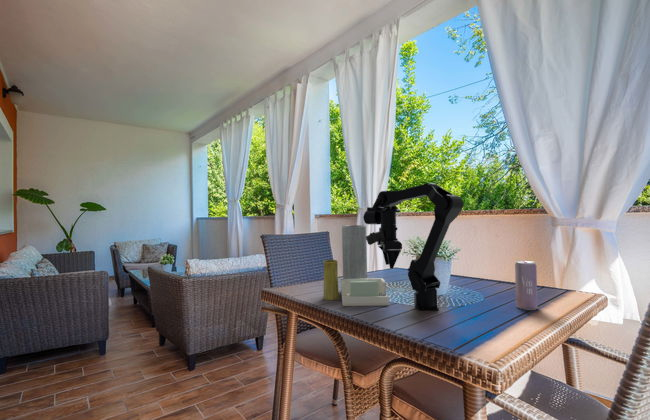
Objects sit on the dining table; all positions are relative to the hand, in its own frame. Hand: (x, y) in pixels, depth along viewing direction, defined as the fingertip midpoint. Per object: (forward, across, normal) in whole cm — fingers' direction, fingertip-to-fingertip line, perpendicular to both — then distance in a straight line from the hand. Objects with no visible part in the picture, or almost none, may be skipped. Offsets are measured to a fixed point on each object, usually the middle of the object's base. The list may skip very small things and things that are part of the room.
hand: (389, 266), depth 121 cm
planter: (+12, -13, -12) cm, 21 cm away
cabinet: (+12, +2, -10) cm, 16 cm away
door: (+11, +6, -10) cm, 16 cm away
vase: (+12, -2, -22) cm, 25 cm away
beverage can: (+12, +14, +42) cm, 46 cm away
